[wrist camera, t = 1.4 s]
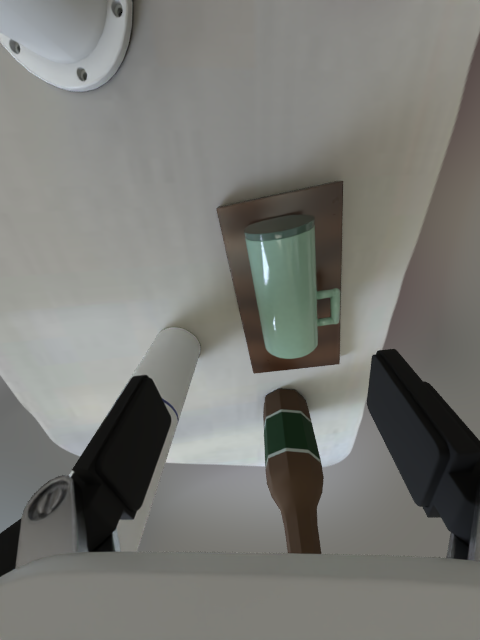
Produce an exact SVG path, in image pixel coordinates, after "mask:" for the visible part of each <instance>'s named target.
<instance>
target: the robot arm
mask: <svg viewBox="0 0 480 640" xmlns="http://www.w3.org/2000/svg"><path fill="white" fill-rule="evenodd" d="M132 8H133V2H132V0H0V42H1V43H2V45H3V46H4V47H5V48H6V49H7V50H8V51H9V53H10V54H11V55H12V56H13V57H14V58H15V59H16V60H17V61H18V62H19V63H20V64H21V65H23V66H24V67H25V68H26V69H27V70H28V71H29V72H31V73H32V74H34V75H35V76H37V77H39V78H40V79H42V80H43V81H45V82H47V83H49V84H52V85H54V86H56V87H58V88H62V89H65V90H68V91H77V92H85V91H89V90H93V89H96V88H98V87H100V86H101V85H103V84H105V83H106V82H107V81H108V80H109V79H110V78H111V77H112V76H113V75H114V74H115V73H116V72H117V70H118V68H119V66H120V65H121V63H122V61H123V59H124V56H125V53H126V51H127V48H128V45H129V40H130V34H131V28H132ZM121 11H123V12H122V15H121V16H120V12H121ZM86 75H87V80H86ZM367 406H368V409H369V411H370V414H371V416H372V418H373V420H374V422H375V424H376V426H377V428H378V430H379V432H380V434H381V436H382V438H383V440H384V442H385V444H386V446H387V448H388V450H389V452H390V454H391V455H392V458H393V460H394V462H395V464H396V466H397V468H398V470H399V472H400V474H401V476H402V478H403V480H404V482H405V484H406V486H407V488H408V490H409V492H410V494H411V496H412V498H413V500H414V502H415V503H416V504H417V505H418V506H422V507H423V509H424V511H425V513H426V515H427V517H441V518H442V520H443V521H444V523H445V525H446V527H447V529H448V530H449V531H450V532H451V535H450V540H449V547H448V552H447V558H440V557H438V558H437V557H414V556H389V555H388V556H387V555H347V554H294V553H222V552H121V548H120V543H119V538H118V533H117V528H116V527H117V525H118V522H119V520H134V518H135V515H136V512H137V510H139V509H140V508H141V506H142V504H143V502H144V499H145V496H146V493H147V490H148V487H149V485H150V482H151V479H152V476H153V473H154V471H155V468H156V465H157V462H158V459H159V457H160V454H161V451H162V448H163V445H164V443H165V440H166V437H167V434H168V431H169V428H170V426H171V416H170V414H169V412H168V410H167V408H166V406H165V404H164V401H163V399H162V397H161V395H160V393H159V391H158V389H157V387H156V385H155V383H154V381H153V380H152V378H149V377H148V376H147V375H139V376H133V377H132V378H131V379H130V381H129V382H128V384H127V385H126V387H125V388H124V390H123V392H122V393H121V395H120V396H119V398H118V399H117V401H116V402H115V404H114V406H113V407H112V409H111V410H110V412H109V413H108V415H107V416H106V418H105V419H104V421H103V423H102V424H101V426H100V427H99V429H98V430H97V432H96V433H95V435H94V436H93V438H92V440H91V441H90V443H89V444H88V446H87V447H86V449H85V450H84V452H83V454H82V455H81V457H80V458H79V460H78V461H77V463H76V464H75V466H74V467H73V469H72V470H73V471H74V473H73V474H72V476H71V477H70V476H66V475H62V476H58V477H56V478H54V479H52V480H50V481H48V482H47V483H46V484H44V485H43V486H42V487H41V488H40V489H39V490H38V491H37V492H36V493H34V495H33V496H32V497H31V499H30V500H29V501H28V503H27V505H26V507H25V509H24V511H23V514H22V518H21V519H20V520H18V521H17V522H15V523H14V524H13V525H11V526H10V527H9V528H7V529H6V530H4V531H3V532H2V533H1V534H0V640H480V441H479V440H478V438H477V437H476V436H475V435H474V434H473V433H472V431H471V430H470V429H469V428H468V427H467V426H466V425H465V423H464V422H463V421H462V420H461V419H460V418H459V417H458V415H457V414H456V413H455V412H454V411H453V410H452V409H451V408H450V406H449V405H448V404H447V403H446V402H445V401H444V400H443V398H442V397H441V396H440V395H439V394H438V393H437V391H436V390H435V389H434V388H433V387H432V386H431V385H430V384H429V383H427V382H423V381H422V380H421V379H420V378H419V376H418V375H417V374H416V373H415V372H414V370H413V369H412V368H411V367H410V366H409V364H408V363H407V362H406V361H405V360H404V359H403V357H402V356H401V355H400V354H399V353H398V352H397V351H396V350H395V349H389V350H379V351H377V353H376V355H373V356H372V361H371V370H370V379H369V388H368V397H367Z"/></svg>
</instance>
